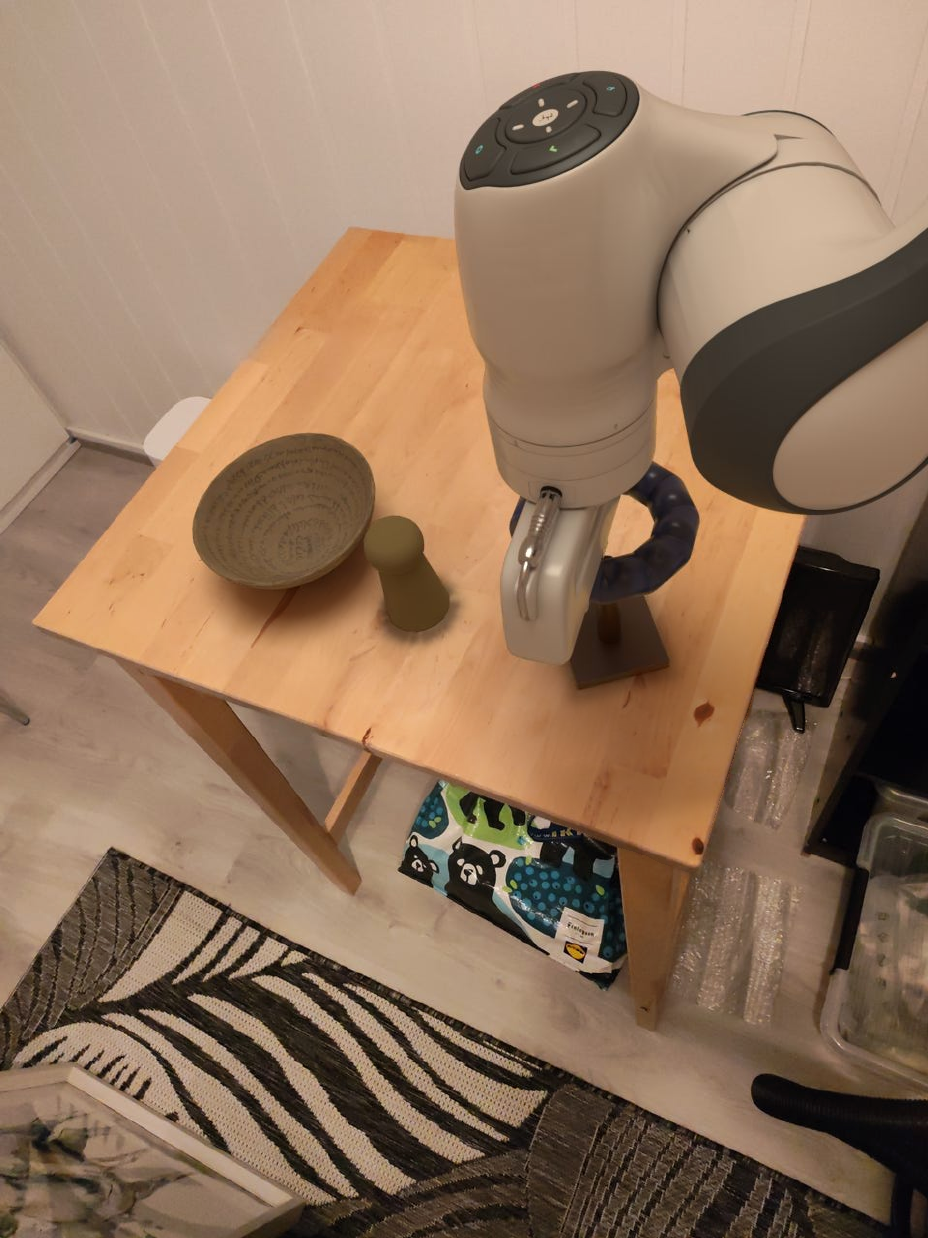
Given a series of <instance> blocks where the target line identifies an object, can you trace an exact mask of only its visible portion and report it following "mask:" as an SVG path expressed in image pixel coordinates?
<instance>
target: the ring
mask: <svg viewBox="0 0 928 1238" xmlns="http://www.w3.org/2000/svg"><path fill="white" fill-rule="evenodd" d="M621 496H629V497H630V498H632V499H633V500H635V501H636V502H638V503H639V504H641V505H642V506H644V507H646V508H647V509H648V512H649V514H650V516H651V519H652V521H653V525H652V529H651V533H650V536H649V538H648V539H646V540H645V541H644V542H642V544H640V545H639V546H638V547H637V548H636V549H634V551H632V552H630V553H625V554H620V555H617V556H612V557H613V558H609V559H605V560H601V562H600V565H599V568H598V572H597V575H596V578H595V581H594V585H593V588H592V597H591V601H590V603H595V604H602V605H606V604H611V603H615V602H619V601H623V600H628V599H632V598H636V597H640V596H644V597H645V596H647V595H650V594H653V593H655V592H657V591H658V590H659V589H660V588H661V587H662V586H664V585H665V584H666V583H667V582H668V581H669V580H671V579H672V578H673V577H674V576H675V575H676V574H677V573H679V572H680V571H681V570H682V569H683V568H684V567H685V566H687V564H689V562H690V560H691V558H692V555H693V551H694V547H695V543H696V539H697V536H698V531H699V528H700V523H701V519H700V518H701V517H700V513H699V511H698V508H697V506H696V505H695V502H694V500H693V498H692V496H691V494H690V491H689V490H688V488H687V486H686V483H685V481H683V479H682V478H681V477H680V476H678V475H677V474H675V473H674V472H672V471H670V470H669V469H667V468H666V467H664V466H662V465H661V464H659V463H657V462H656V461H654V460H653V461H652V463H651V465H650V467H649V469H648V471H647V472H646V473H645V475H644V476H643V477H642V478H641V479H640V481H639V482H637V483H636V484H635V485H634V486H633V487H632V488H630V489H629V490H628V491H626V492H625V493H623V494H621ZM526 500H527V499H525V498H523V497H522V496H520V495H519V498H518V501H517V503H516V506H515V508H514V511H513V513H512V515H511V518H510V521H509V525H508V529H509V530H508V531H509V535H510V537H511V539H512V537H513V534H514V531H515V529H516V526H517V523H518V521H519V518H520V516H521V513H522V510H523V508H524V505H525V502H526Z"/></svg>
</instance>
